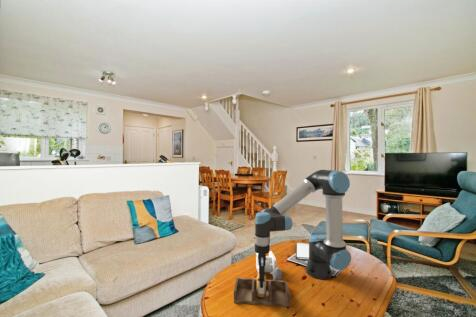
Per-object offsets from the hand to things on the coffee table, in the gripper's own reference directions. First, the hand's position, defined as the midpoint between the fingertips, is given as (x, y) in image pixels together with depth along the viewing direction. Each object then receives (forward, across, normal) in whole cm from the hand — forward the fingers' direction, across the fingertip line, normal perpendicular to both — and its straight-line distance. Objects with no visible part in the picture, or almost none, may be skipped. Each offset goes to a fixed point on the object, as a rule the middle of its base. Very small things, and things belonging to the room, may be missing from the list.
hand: (261, 290), depth 110 cm
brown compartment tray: (+4, -2, 0) cm, 5 cm away
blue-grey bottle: (+4, -12, +9) cm, 15 cm away
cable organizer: (+5, -25, +3) cm, 25 cm away
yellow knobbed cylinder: (+2, 0, 0) cm, 2 cm away
